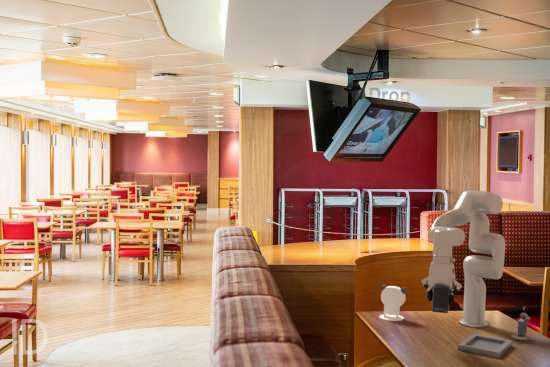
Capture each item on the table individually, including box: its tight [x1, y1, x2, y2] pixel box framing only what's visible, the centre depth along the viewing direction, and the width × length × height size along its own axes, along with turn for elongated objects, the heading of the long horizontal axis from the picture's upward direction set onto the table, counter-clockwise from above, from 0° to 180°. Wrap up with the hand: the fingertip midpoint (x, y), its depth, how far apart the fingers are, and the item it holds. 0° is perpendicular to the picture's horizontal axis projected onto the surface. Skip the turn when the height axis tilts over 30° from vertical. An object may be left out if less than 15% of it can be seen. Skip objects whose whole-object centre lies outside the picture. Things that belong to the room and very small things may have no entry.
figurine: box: [510, 312, 533, 344], centre depth 280 cm, size 8×8×12 cm
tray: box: [457, 333, 513, 359], centre depth 267 cm, size 20×16×2 cm
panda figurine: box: [379, 284, 408, 322], centre depth 310 cm, size 12×11×15 cm
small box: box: [431, 285, 450, 314], centre depth 268 cm, size 11×6×10 cm, turn 167°
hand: (440, 302), depth 268 cm, fingers closed on small box, 8 cm apart
